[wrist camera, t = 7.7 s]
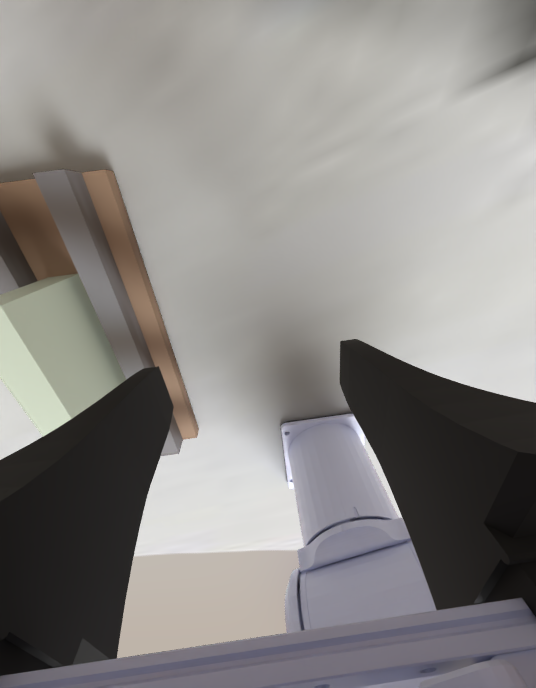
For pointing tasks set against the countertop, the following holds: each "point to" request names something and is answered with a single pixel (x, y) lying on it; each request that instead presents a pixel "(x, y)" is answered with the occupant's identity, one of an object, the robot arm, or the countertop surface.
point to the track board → (92, 269)
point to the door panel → (54, 351)
